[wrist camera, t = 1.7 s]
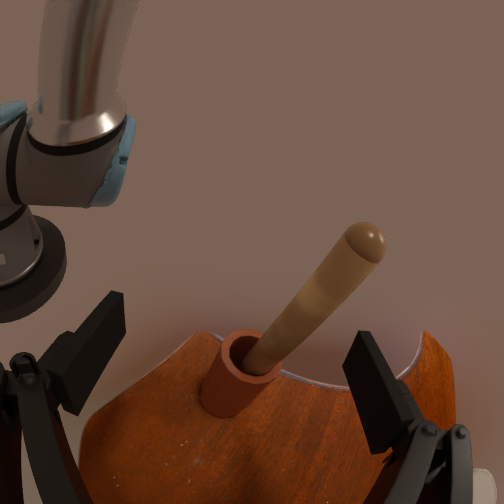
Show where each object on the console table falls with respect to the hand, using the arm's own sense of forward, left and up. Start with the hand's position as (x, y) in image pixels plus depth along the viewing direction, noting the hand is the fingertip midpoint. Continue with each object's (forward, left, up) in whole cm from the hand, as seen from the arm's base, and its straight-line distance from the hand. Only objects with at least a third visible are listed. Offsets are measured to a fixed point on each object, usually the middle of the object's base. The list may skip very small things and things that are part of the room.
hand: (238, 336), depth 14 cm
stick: (+2, +5, -16) cm, 17 cm away
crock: (+2, +5, -17) cm, 18 cm away
